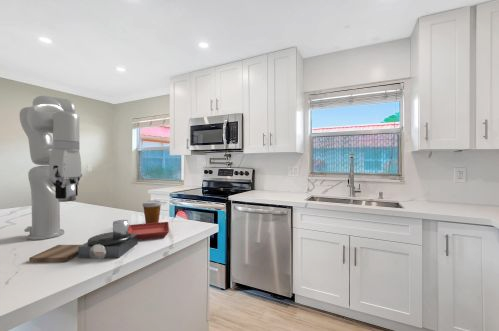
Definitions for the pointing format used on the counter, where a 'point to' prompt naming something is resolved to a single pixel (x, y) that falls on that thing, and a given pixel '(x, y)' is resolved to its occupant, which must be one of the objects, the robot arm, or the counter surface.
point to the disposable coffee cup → (152, 211)
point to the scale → (107, 246)
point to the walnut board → (56, 254)
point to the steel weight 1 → (69, 192)
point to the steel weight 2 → (120, 229)
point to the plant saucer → (149, 230)
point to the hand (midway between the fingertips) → (66, 196)
